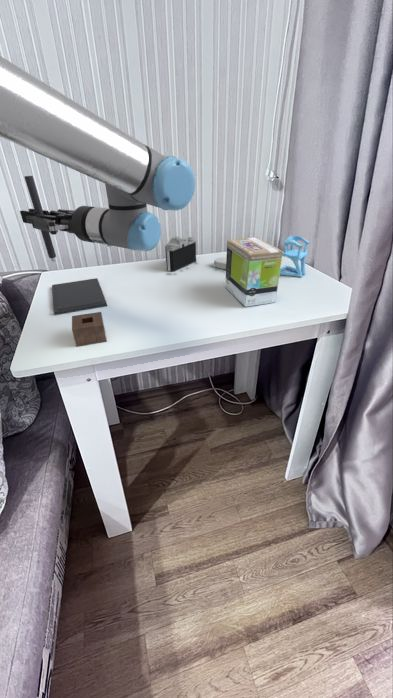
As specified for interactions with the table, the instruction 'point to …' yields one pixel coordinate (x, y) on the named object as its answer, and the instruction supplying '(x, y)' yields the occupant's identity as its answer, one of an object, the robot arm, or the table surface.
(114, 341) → the table surface
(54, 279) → the table surface
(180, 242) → the camera
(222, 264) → the electronic device
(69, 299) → the dark grey flat block
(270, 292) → the tea box
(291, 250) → the chair
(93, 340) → the pen stand
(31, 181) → the stylus
